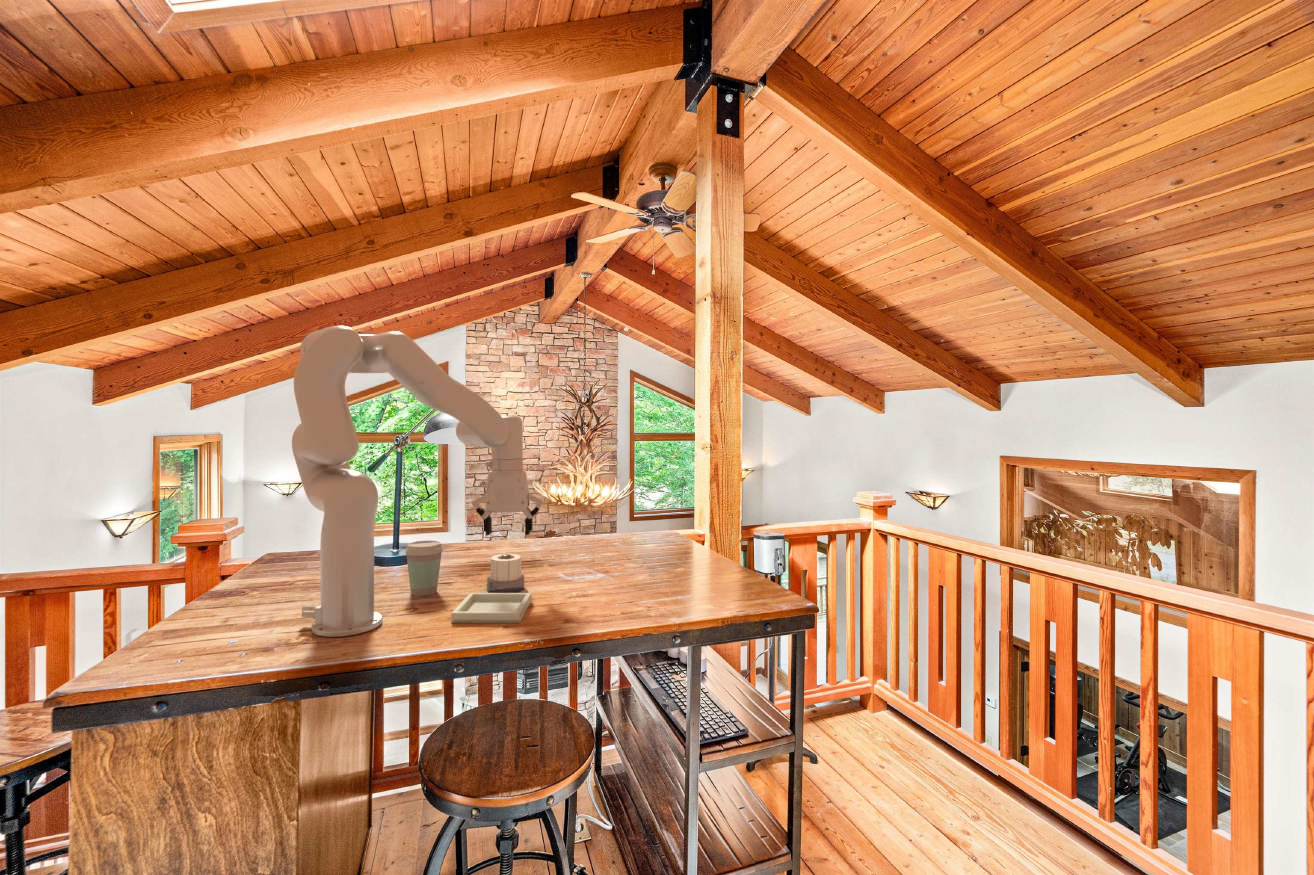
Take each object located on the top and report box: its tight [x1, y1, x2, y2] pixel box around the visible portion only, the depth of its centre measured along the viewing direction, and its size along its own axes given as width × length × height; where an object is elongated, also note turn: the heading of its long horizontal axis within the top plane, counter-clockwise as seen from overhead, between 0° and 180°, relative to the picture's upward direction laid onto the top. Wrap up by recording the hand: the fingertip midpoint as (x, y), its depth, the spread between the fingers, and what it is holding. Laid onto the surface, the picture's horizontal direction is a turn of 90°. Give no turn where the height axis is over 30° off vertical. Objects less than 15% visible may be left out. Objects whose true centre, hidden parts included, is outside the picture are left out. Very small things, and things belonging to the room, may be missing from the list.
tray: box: [450, 592, 532, 624], centre depth 127 cm, size 14×14×2 cm
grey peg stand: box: [486, 553, 525, 593], centre depth 143 cm, size 9×9×8 cm
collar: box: [490, 553, 522, 581], centre depth 143 cm, size 7×7×5 cm
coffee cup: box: [404, 539, 444, 597], centre depth 140 cm, size 8×8×12 cm
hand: (508, 533), depth 144 cm, fingers open, 9 cm apart
